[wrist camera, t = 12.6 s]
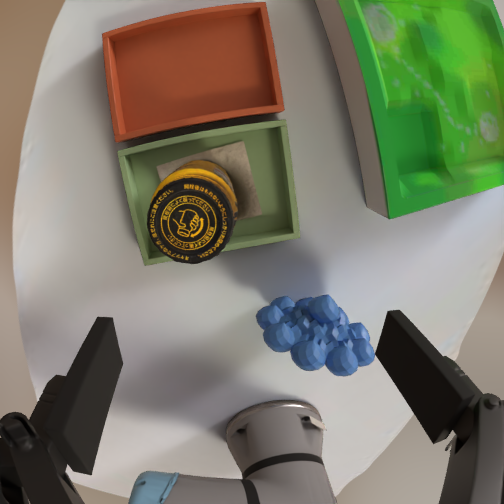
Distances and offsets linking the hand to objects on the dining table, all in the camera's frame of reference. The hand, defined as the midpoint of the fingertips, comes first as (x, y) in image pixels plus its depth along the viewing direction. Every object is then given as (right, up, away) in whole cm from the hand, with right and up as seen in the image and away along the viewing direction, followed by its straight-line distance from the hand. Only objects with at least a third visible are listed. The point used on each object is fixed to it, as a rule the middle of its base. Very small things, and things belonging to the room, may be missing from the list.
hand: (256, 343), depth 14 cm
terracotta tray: (-6, +21, +11) cm, 25 cm away
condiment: (-4, +10, +15) cm, 19 cm away
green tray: (-4, +10, +16) cm, 19 cm away
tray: (+21, +24, +14) cm, 34 cm away
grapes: (+6, -1, +21) cm, 22 cm away
